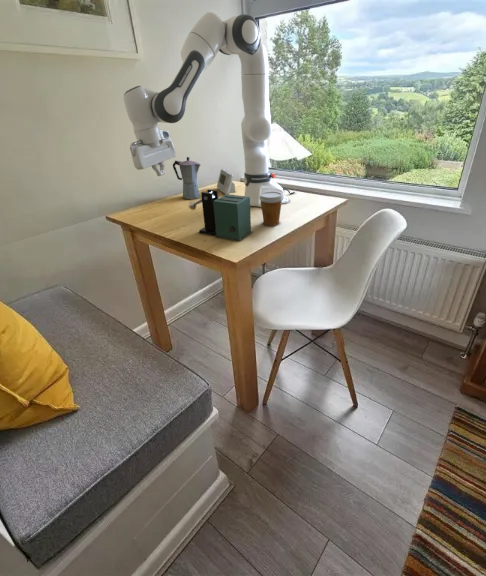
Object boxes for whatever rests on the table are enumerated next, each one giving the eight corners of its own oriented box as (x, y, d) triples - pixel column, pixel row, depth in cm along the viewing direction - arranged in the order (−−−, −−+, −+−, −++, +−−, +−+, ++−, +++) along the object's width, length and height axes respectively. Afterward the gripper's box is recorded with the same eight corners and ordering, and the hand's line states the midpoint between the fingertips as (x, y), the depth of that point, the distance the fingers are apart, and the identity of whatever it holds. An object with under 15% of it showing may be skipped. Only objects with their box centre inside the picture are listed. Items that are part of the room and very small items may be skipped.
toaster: (214, 237, 123) (211, 201, 116) (228, 228, 131) (226, 193, 123) (238, 242, 119) (235, 204, 112) (251, 232, 127) (249, 196, 120)
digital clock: (216, 188, 185) (215, 168, 179) (232, 186, 186) (231, 167, 181) (219, 195, 171) (217, 175, 166) (236, 194, 173) (235, 173, 167)
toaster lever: (189, 212, 128) (184, 204, 127) (194, 209, 130) (190, 202, 130) (212, 200, 120) (207, 191, 119) (217, 197, 123) (212, 189, 122)
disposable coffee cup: (287, 222, 135) (288, 194, 128) (271, 229, 129) (271, 199, 123) (270, 217, 141) (270, 189, 134) (255, 223, 135) (254, 194, 129)
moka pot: (201, 200, 165) (196, 159, 155) (173, 199, 168) (166, 158, 157) (207, 195, 173) (203, 155, 162) (180, 194, 176) (174, 155, 165)
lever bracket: (199, 233, 128) (194, 192, 119) (210, 226, 134) (206, 187, 125) (216, 236, 125) (212, 195, 116) (227, 229, 131) (224, 189, 122)
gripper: (134, 142, 112) (149, 182, 119) (172, 131, 126) (183, 167, 133) (122, 144, 115) (137, 183, 122) (160, 133, 129) (172, 169, 136)
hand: (161, 175), depth 128 cm, fingers closed
